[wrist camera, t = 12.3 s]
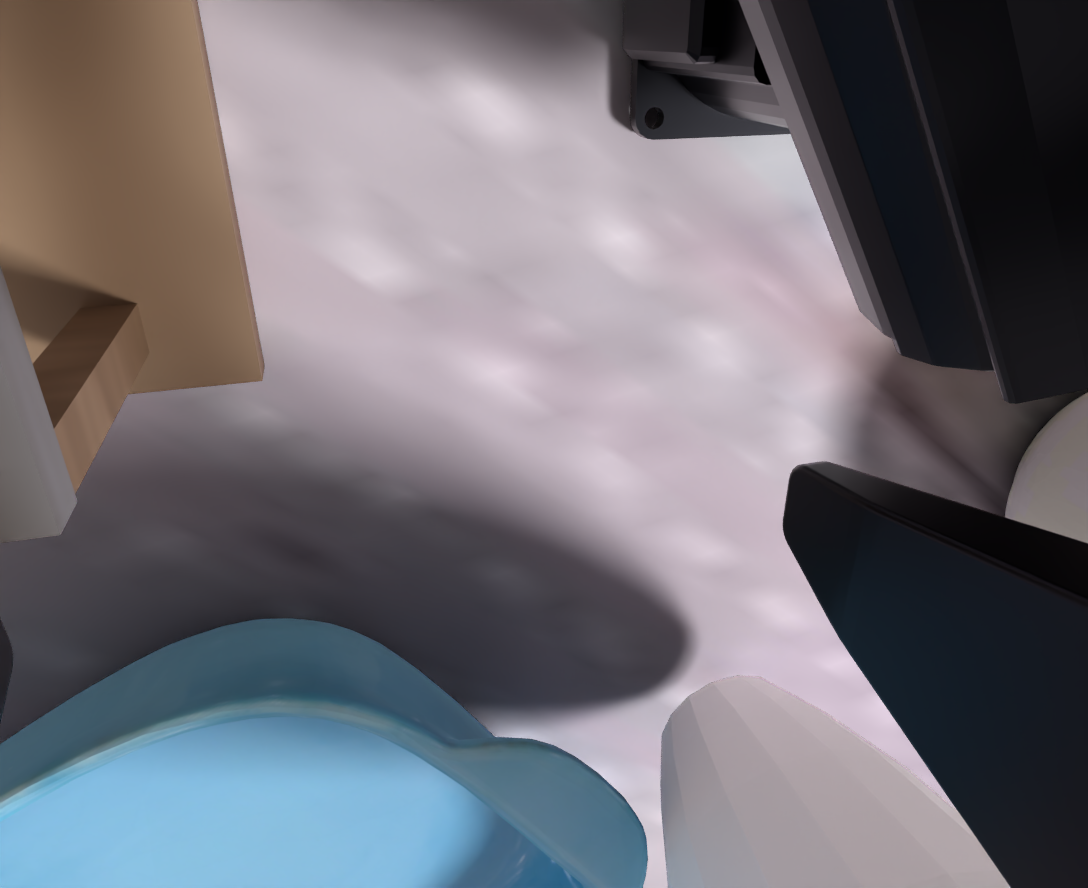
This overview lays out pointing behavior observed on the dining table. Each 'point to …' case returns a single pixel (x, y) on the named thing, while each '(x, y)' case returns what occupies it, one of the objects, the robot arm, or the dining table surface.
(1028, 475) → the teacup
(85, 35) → the trapdoor stand
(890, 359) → the dining table surface
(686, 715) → the cup
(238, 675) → the casserole dish
